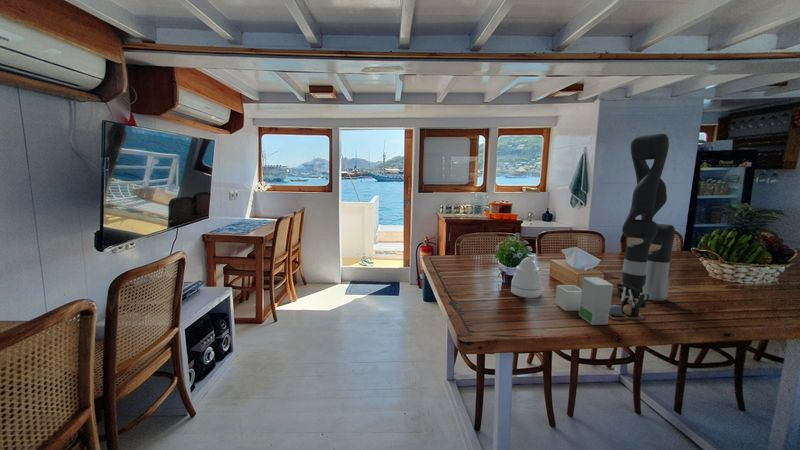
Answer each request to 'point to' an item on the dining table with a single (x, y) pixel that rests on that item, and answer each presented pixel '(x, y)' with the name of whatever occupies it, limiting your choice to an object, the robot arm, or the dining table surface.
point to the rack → (626, 317)
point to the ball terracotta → (627, 309)
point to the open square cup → (568, 297)
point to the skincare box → (595, 300)
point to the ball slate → (615, 310)
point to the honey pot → (526, 279)
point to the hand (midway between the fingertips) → (629, 313)
